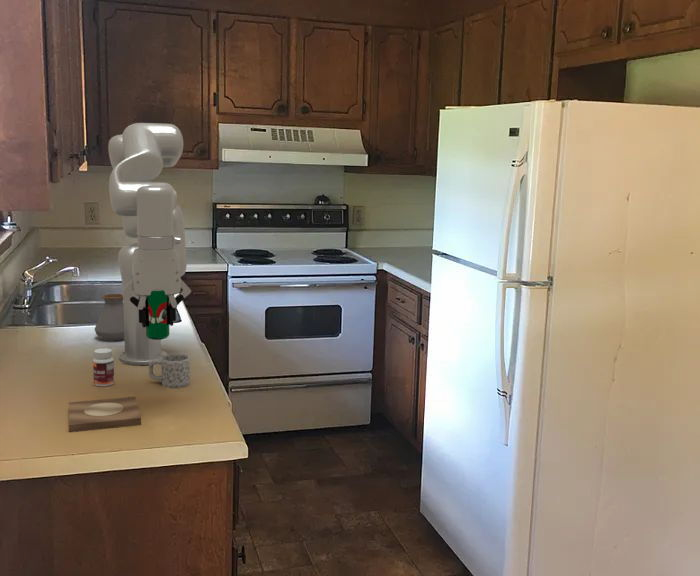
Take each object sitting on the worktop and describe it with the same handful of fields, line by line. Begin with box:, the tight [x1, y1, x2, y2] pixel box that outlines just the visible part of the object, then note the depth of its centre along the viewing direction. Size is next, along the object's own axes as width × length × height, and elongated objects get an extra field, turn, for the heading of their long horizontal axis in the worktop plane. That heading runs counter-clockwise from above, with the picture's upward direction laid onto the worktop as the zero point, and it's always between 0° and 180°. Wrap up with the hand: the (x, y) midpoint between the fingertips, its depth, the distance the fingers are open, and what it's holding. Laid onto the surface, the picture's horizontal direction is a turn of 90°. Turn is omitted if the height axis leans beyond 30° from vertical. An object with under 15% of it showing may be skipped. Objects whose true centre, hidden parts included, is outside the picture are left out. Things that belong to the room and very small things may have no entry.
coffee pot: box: [94, 293, 125, 342], centre depth 223 cm, size 21×12×15 cm, turn 107°
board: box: [68, 396, 142, 433], centre depth 158 cm, size 14×14×2 cm
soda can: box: [145, 289, 171, 341], centre depth 163 cm, size 5×5×12 cm
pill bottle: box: [92, 347, 115, 388], centre depth 179 cm, size 5×5×8 cm
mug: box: [148, 353, 191, 389], centre depth 181 cm, size 10×7×7 cm
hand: (157, 324), depth 163 cm, fingers closed on soda can, 5 cm apart
